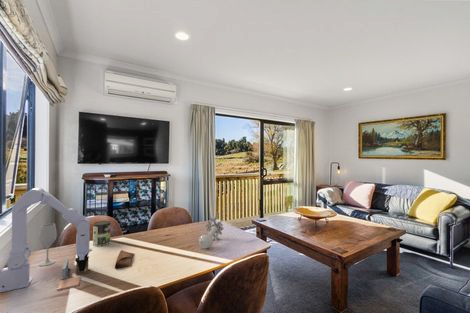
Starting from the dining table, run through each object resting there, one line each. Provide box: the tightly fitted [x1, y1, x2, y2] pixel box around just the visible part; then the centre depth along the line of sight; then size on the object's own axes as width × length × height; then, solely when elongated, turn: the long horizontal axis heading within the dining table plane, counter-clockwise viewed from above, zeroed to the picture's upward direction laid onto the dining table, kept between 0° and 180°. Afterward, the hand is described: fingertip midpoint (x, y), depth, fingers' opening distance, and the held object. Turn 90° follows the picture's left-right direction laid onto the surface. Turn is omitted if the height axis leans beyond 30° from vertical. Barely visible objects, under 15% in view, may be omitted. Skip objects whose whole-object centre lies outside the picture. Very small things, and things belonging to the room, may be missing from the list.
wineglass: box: [38, 222, 58, 267], centre depth 123 cm, size 8×8×21 cm
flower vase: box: [198, 216, 224, 250], centre depth 154 cm, size 13×18×25 cm
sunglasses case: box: [114, 249, 135, 270], centre depth 127 cm, size 18×7×7 cm, turn 21°
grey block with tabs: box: [59, 258, 71, 281], centre depth 111 cm, size 3×12×6 cm, turn 32°
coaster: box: [56, 275, 81, 291], centre depth 103 cm, size 8×8×1 cm
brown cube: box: [75, 259, 89, 276], centre depth 115 cm, size 5×5×5 cm
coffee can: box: [92, 220, 112, 247], centre depth 152 cm, size 10×10×14 cm
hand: (82, 268), depth 114 cm, fingers closed on brown cube, 5 cm apart
